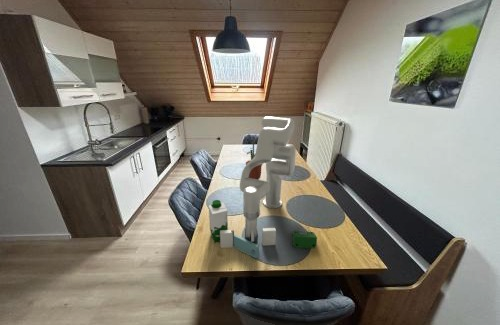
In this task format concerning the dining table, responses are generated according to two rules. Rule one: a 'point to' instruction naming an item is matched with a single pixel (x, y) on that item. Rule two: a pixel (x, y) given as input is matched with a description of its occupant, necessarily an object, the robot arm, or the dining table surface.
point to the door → (246, 246)
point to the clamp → (304, 240)
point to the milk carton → (217, 219)
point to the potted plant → (256, 171)
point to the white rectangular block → (228, 237)
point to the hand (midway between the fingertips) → (251, 241)
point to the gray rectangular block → (250, 237)
